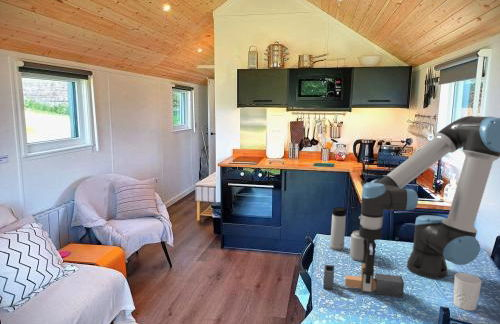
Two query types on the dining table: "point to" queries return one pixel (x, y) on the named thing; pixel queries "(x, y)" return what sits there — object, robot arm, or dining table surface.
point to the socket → (328, 277)
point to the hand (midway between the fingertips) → (366, 287)
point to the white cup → (466, 291)
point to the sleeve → (389, 285)
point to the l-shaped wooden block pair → (359, 280)
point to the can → (356, 246)
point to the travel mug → (338, 228)
